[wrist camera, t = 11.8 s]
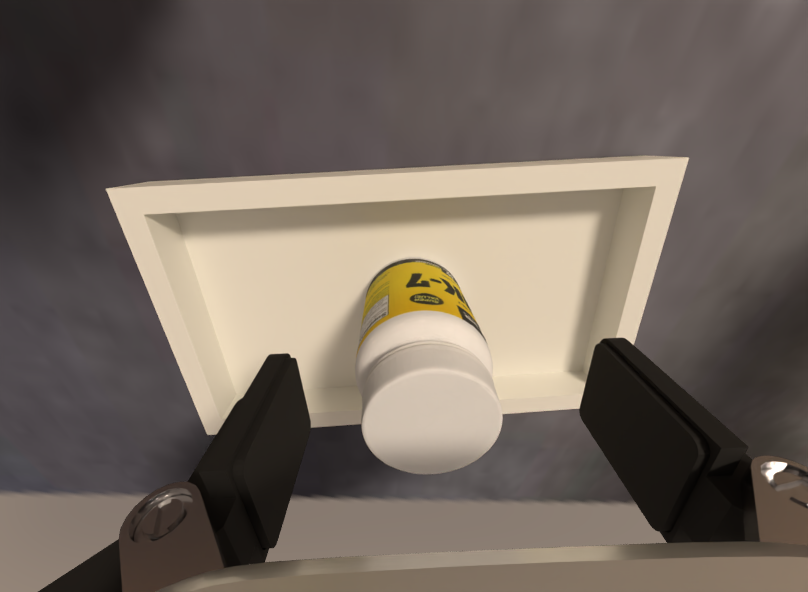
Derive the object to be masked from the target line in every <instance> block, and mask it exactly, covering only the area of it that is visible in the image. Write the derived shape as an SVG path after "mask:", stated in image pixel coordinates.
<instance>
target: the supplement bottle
mask: <svg viewBox="0 0 808 592" xmlns="http://www.w3.org/2000/svg"><path fill="white" fill-rule="evenodd" d="M492 374H493V362H492V357H491V353H490V350H489V347H488V345H487V342H486V339H485V337H484V336H483V334H482V332H481V330H480V327H479V325H478V324H477V322H476V320H475V318H474V316H473V314H472V311H471V309H470V307H469V305H468V303H467V302H466V300H465V298H464V295H463V294H462V292H461V289H460V287H459V285H458V283H457V281H456V280H455V278H454V277H453V275H452V274H451V273H450V272H449V271H448V270H447V269H446V268H445V267H444V266H442V265H441V264H439V263H437V262H435V261H432V260H430V259H426V258H421V257H406V258H401V259H398V260H395V261H393V262H391V263H389V264H387V265H386V266H384V267H383V268H382V269H381V270H379V272H378V273H377V274H376V275H375V276H374V278H373V279H372V281H371V282H370V285H369V287H368V290H367V294H366V300H365V306H364V312H363V318H362V324H361V330H360V337H359V343H358V349H357V355H356V363H355V376H356V382H357V386H358V389H359V392H360V394H361V396H362V417H361V428H362V433H363V437H364V440H365V442H366V444H367V446H368V447H369V449H370V450H371V452H372V453H373V454H374V455H375V456H376V457H377V458H379V459H380V460H381V461H382V462H384V463H385V464H387V465H389V466H391V467H393V468H396V469H399V470H401V471H405V472H410V473H415V474H438V473H444V472H449V471H453V470H456V469H459V468H462V467H464V466H466V465H468V464H470V463H472V462H474V461H475V460H477V459H478V458H480V457H481V456H482V455H483V454H485V453H486V452H487V451H488V450H489V449H490V448H491V446H492V445H493V444H494V442H495V441H496V439H497V437H498V435H499V433H500V430H501V426H502V408H501V404H500V401H499V398H498V395H497V392H496V390H495V386H494V382H493V379H492Z"/></svg>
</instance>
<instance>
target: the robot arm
mask: <svg viewBox="0 0 808 592" xmlns="http://www.w3.org/2000/svg"><path fill="white" fill-rule="evenodd" d="M579 410H580V416H581V419H582V421H583V422H584V424H585V425H586V427H587V428H588V430H589V431H590V433H591V435H592V436H593V438H594V439H595V441H596V442H597V444H598V445H599V447H600V448H601V450H602V451H603V453H604V455H605V456H606V458H607V459H608V461H609V462H610V464H611V465H612V467H613V468H614V470H615V472H616V473H617V475H618V476H619V478H620V479H621V481H622V482H623V484H624V485H625V487H626V488H627V490H628V492H629V493H630V495H631V496H632V498H633V499H634V501H635V502H636V504H637V505H638V507H639V508H640V510H641V512H642V513H643V515H644V516H645V518H646V519H647V521H648V522H649V524H650V525H651V526H652V528H654V529H655V530H656V531H660V533H661V534H662V536H663V537H664V539H665V540H666V542H667V543H656V544H629V545H602V546H576V547H554V548H553V547H552V548H528V549H505V550H481V551H459V552H437V553H418V554H396V555H375V556H355V557H336V558H321V559H308V560H292V561H277V562H265V560H266V557H267V553H268V550H269V548H274V547H275V545H276V543H277V541H278V538H279V534H280V531H281V527H282V524H283V521H284V518H285V514H286V510H287V507H288V504H289V501H290V498H291V494H292V491H293V487H294V484H295V481H296V477H297V474H298V471H299V467H300V464H301V461H302V457H303V454H304V451H305V447H306V444H307V441H308V437H309V434H310V429H311V420H310V416H309V411H308V407H307V403H306V398H305V394H304V390H303V385H302V381H301V377H300V372H299V368H298V364H297V360H296V358H291V356H290V354H288V353H283V354H270V355H268V356H267V358H266V360H265V361H264V363H263V365H262V366H261V368H260V370H259V371H258V373H257V375H256V376H255V378H254V380H253V382H252V383H251V385H250V387H249V388H248V390H247V392H246V393H245V395H244V397H243V398H241V399H240V400H238V401H237V402H236V404H235V405H234V407H233V408H232V410H231V412H230V413H229V415H228V417H227V418H226V420H225V421H224V423H223V425H222V426H221V428H220V430H219V431H218V433H217V435H216V436H215V438H214V439H213V441H212V443H211V444H210V446H209V448H208V449H207V451H206V453H205V454H204V456H203V457H202V459H201V461H200V462H199V464H198V466H197V467H196V469H195V471H194V472H193V474H192V475H191V477H190V479H189V480H188V482H176V483H172V484H168V485H166V486H164V487H161V488H159V489H157V490H155V491H154V492H152V493H151V494H149V495H148V496H146V497H145V498H144V499H143V500H142V501H141V502H139V503H138V504H137V505H136V506H135V507H134V508H133V510H132V511H131V512H130V513H129V514H128V516H127V517H126V519H125V521H124V523H123V525H122V527H121V529H120V534H119V539H118V540H117V541H115V542H114V543H112V544H111V545H109V546H108V547H106V548H104V549H103V550H102V551H100V552H98V553H97V554H95V555H94V556H92V557H91V558H89V559H88V560H86V561H85V562H83V563H82V564H80V565H78V566H77V567H75V568H74V569H72V570H71V571H69V572H68V573H66V574H65V575H63V576H61V577H60V578H58V579H57V580H55V581H54V582H52V583H51V584H49V585H48V586H46V587H45V588H43V589H41V590H40V591H38V592H808V467H805V466H803V465H801V464H799V463H796V462H794V461H791V460H788V459H784V458H781V457H776V456H768V455H766V456H758V457H756V458H755V459H753V460H752V459H751V458H750V457H749V456H747V455H746V454H745V452H746V451H747V449H748V446H747V445H746V444H745V443H743V442H742V441H741V440H740V439H739V438H738V437H737V436H735V435H734V434H733V433H732V432H731V431H730V430H729V429H728V428H726V427H725V426H724V425H723V424H722V423H721V422H720V421H719V420H717V419H716V418H715V417H714V416H713V415H712V414H711V413H709V412H708V411H707V410H706V409H705V408H704V407H703V406H702V405H700V404H699V403H698V402H697V401H696V400H695V399H694V398H693V397H691V396H690V395H689V394H688V393H687V392H686V391H685V390H684V389H682V388H681V387H680V386H679V385H678V384H677V383H676V382H674V381H673V380H672V379H671V378H670V377H669V376H668V375H667V374H665V373H664V372H663V371H662V370H661V369H660V368H659V367H658V366H656V365H655V364H654V363H653V362H652V361H651V360H650V359H648V358H647V357H646V356H645V355H644V354H643V353H642V352H641V351H639V350H638V349H637V348H636V347H635V346H634V345H633V344H632V343H630V342H629V341H628V340H627V339H625V338H604V339H602V340H601V341H600V343H598V344H596V345H595V348H594V352H593V356H592V360H591V364H590V368H589V372H588V376H587V380H586V384H585V388H584V392H583V396H582V400H581V404H580V409H579Z"/></svg>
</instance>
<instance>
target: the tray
mask: <svg viewBox="0 0 808 592" xmlns="http://www.w3.org/2000/svg"><path fill="white" fill-rule="evenodd" d="M688 159H689V158H686V157H666V156H645V155H641V156H623V157H604V158H585V159H566V160H547V161H528V162H509V163H491V164H472V165H453V166H434V167H415V168H396V169H378V170H359V171H340V172H321V173H302V174H283V175H265V176H246V177H227V178H208V179H189V180H170V181H151V182H144V183H138V184H132V185H126V186H120V187H114V188H108V189H106V190H107V193H108V195H109V198H110V200H111V203H112V205H113V207H114V210H115V212H116V215H117V217H118V220H119V222H120V224H121V227H122V229H123V232H124V234H125V237H126V239H127V241H128V244H129V246H130V249H131V251H132V254H133V256H134V258H135V261H136V263H137V266H138V268H139V271H140V273H141V275H142V278H143V280H144V283H145V285H146V287H147V290H148V292H149V295H150V297H151V300H152V302H153V304H154V307H155V309H156V312H157V314H158V317H159V319H160V321H161V324H162V326H163V329H164V331H165V334H166V336H167V338H168V341H169V343H170V346H171V348H172V351H173V353H174V355H175V358H176V360H177V363H178V365H179V368H180V370H181V372H182V375H183V377H184V380H185V382H186V385H187V387H188V389H189V392H190V394H191V397H192V399H193V402H194V404H195V406H196V409H197V411H198V414H199V416H200V418H201V421H202V423H203V426H204V428H205V431H206V433H207V435H215V434H217V433H218V431H219V430H220V428H221V426H222V425H223V423H224V421H225V420H226V418H227V417H228V415H229V413H230V412H231V410H232V408H233V407H234V405H235V404H236V402H237V401H238V400H240V399H241V398H243V397H244V395H245V393H246V392H247V390H248V388H249V387H250V385H251V383H252V382H253V380H254V378H255V376H256V375H257V373H258V371H259V370H260V368H261V366H262V365H263V363H264V361H265V360H266V358H267V356H268V355H270V354H283V353H288V354H290V356H291V358H296V360H297V364H298V368H299V372H300V377H301V381H302V385H303V390H304V394H305V398H306V403H307V407H308V411H309V416H310V420H311V428H313V427H327V426H341V425H355V424H361V417H362V396H361V394H360V392H359V389H358V386H357V382H356V376H355V363H356V355H357V349H358V343H359V337H360V330H361V324H362V318H363V312H364V306H365V300H366V294H367V290H368V287H369V285H370V282H371V281H372V279H373V278H374V276H375V275H376V274H377V273H378V272H379V270H381V269H382V268H383V267H384V266H386V265H387V264H389V263H391V262H393V261H395V260H398V259H401V258H406V257H421V258H426V259H430V260H432V261H435V262H437V263H439V264H441V265H442V266H444V267H445V268H446V269H447V270H448V271H449V272H450V273H451V274H452V275H453V277H454V278H455V280H456V281H457V283H458V285H459V287H460V289H461V292H462V294H463V295H464V298H465V300H466V302H467V303H468V305H469V307H470V309H471V311H472V314H473V316H474V318H475V320H476V322H477V324H478V325H479V327H480V330H481V332H482V334H483V336H484V337H485V339H486V342H487V345H488V347H489V350H490V353H491V357H492V362H493V374H492V379H493V382H494V386H495V390H496V392H497V395H498V398H499V401H500V404H501V408H502V414H508V413H522V412H536V411H550V410H564V409H578V408H580V404H581V400H582V396H583V392H584V388H585V384H586V380H587V376H588V372H589V368H590V364H591V360H592V356H593V352H594V348H595V345H596V344H598V343H600V341H601V340H602V339H604V338H625V339H627V340H628V341H629V342H630V343H632V344H633V345H634V342H635V339H636V335H637V332H638V328H639V325H640V322H641V318H642V315H643V312H644V308H645V305H646V301H647V298H648V295H649V291H650V288H651V285H652V281H653V278H654V274H655V271H656V268H657V264H658V261H659V257H660V254H661V251H662V247H663V244H664V241H665V237H666V234H667V230H668V227H669V224H670V220H671V217H672V214H673V210H674V207H675V203H676V200H677V197H678V193H679V190H680V186H681V183H682V180H683V176H684V173H685V170H686V166H687V163H688Z"/></svg>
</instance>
